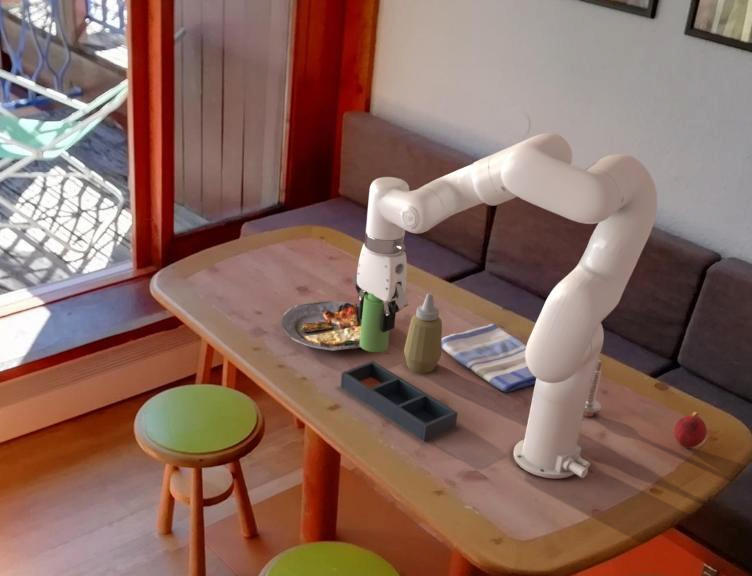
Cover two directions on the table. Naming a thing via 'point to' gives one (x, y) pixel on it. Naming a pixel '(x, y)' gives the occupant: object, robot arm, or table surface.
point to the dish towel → (491, 356)
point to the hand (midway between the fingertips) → (376, 322)
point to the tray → (399, 400)
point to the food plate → (324, 325)
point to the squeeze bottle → (424, 338)
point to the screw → (593, 392)
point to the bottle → (373, 325)
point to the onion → (690, 430)
